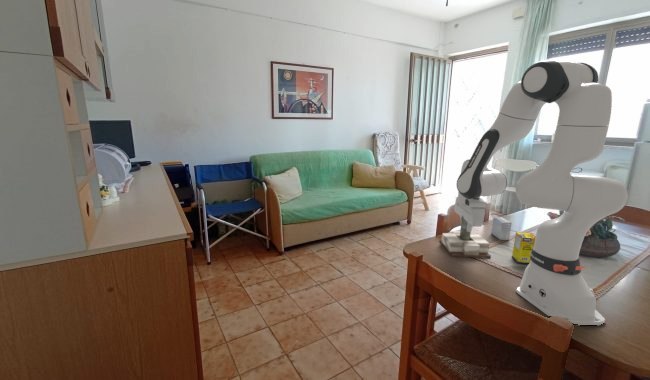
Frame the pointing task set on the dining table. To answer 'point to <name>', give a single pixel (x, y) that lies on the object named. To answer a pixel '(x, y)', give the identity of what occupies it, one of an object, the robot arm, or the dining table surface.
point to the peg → (464, 230)
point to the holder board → (465, 245)
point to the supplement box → (523, 247)
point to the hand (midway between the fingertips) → (465, 228)
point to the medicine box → (501, 228)
